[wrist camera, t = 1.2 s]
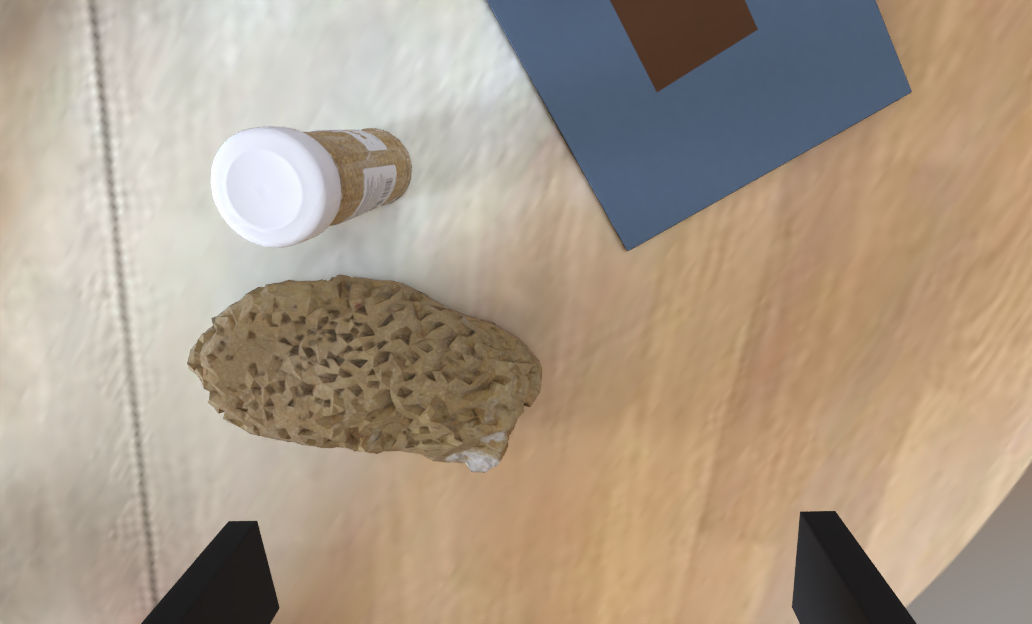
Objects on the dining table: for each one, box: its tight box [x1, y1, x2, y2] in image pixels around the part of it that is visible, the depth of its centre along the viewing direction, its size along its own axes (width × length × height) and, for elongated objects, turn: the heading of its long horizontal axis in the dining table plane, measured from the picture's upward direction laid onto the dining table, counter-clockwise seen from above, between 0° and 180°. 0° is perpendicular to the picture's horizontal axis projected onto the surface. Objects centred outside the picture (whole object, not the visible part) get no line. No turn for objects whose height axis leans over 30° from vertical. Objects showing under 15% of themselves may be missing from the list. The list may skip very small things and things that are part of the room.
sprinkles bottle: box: [211, 127, 411, 248], centre depth 28 cm, size 5×5×14 cm
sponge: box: [187, 275, 542, 473], centre depth 34 cm, size 13×8×20 cm
